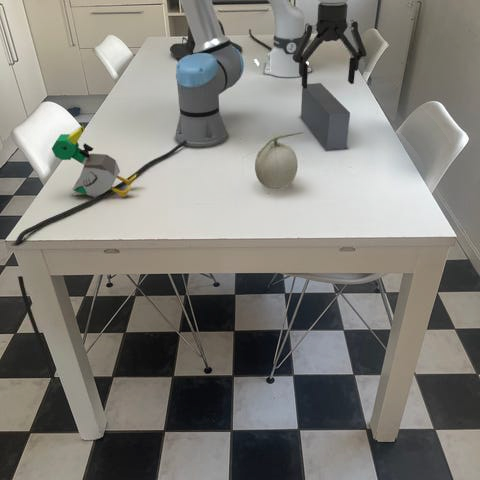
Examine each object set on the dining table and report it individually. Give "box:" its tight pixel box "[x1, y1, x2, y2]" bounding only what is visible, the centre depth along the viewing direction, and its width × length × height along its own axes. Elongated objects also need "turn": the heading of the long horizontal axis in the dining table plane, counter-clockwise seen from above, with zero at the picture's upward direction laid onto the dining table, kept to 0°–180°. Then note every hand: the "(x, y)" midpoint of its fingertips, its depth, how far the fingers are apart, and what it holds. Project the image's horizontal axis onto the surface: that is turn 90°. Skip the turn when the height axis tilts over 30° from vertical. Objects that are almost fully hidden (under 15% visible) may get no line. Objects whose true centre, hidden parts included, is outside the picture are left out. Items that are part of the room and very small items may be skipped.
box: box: [300, 82, 351, 152], centre depth 155 cm, size 26×6×11 cm, turn 11°
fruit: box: [254, 131, 304, 191], centre depth 125 cm, size 10×12×15 cm
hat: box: [169, 19, 242, 60], centre depth 228 cm, size 32×35×14 cm
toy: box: [51, 125, 137, 198], centre depth 126 cm, size 6×17×20 cm
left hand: (327, 84), depth 144 cm, fingers open, 13 cm apart
